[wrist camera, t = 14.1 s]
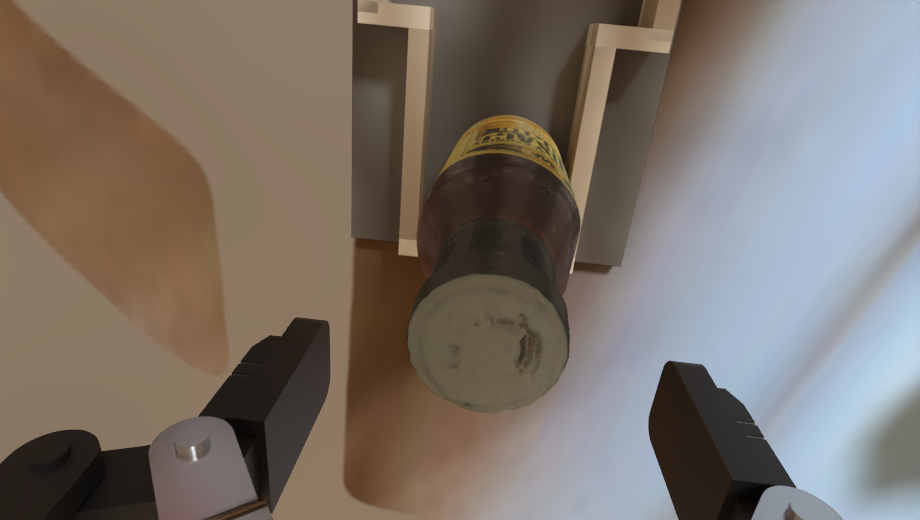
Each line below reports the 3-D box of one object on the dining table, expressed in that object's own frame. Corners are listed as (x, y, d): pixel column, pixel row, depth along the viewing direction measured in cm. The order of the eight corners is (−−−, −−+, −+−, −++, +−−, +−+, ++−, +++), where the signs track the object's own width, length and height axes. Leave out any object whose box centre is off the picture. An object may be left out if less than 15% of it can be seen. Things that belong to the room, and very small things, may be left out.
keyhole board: (734, -247, 24) (777, -296, 20) (617, 260, 34) (631, 288, 30) (359, -278, 24) (335, -332, 20) (355, 231, 34) (338, 255, 31)
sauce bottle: (580, 150, 30) (701, 335, 12) (516, 234, 33) (538, 495, 14) (485, 84, 29) (463, 179, 11) (426, 175, 31) (328, 380, 13)
